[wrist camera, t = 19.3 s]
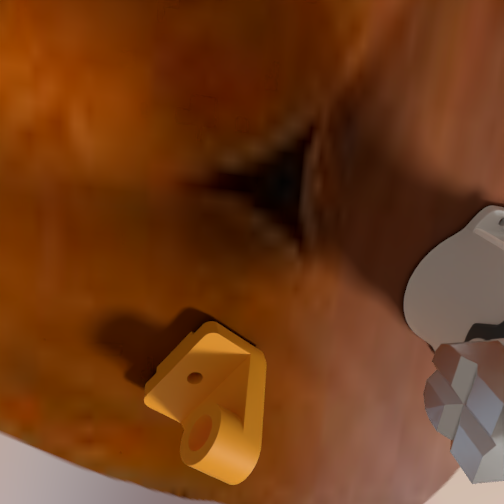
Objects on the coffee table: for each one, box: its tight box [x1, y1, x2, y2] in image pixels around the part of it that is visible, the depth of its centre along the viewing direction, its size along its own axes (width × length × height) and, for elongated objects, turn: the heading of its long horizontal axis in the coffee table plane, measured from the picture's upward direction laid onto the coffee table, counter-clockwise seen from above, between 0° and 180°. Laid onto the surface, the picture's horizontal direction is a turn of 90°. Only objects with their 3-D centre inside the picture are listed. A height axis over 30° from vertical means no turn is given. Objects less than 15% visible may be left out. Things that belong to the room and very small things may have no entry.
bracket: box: [144, 321, 267, 485], centre depth 42 cm, size 11×7×12 cm
